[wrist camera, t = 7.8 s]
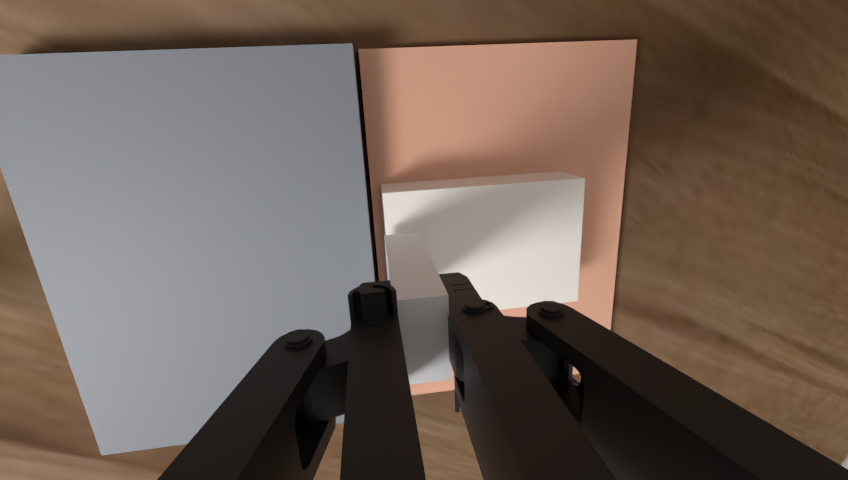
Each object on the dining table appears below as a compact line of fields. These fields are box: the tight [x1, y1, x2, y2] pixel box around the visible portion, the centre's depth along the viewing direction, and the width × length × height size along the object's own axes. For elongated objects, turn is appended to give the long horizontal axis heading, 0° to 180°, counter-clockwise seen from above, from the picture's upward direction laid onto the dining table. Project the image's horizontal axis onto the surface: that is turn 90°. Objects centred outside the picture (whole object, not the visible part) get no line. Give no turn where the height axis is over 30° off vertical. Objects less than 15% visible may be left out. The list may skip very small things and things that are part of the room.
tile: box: [381, 171, 585, 310], centre depth 20 cm, size 9×6×2 cm, turn 93°
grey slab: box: [0, 43, 375, 455], centre depth 19 cm, size 14×18×2 cm
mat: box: [358, 39, 637, 395], centre depth 21 cm, size 13×18×1 cm
